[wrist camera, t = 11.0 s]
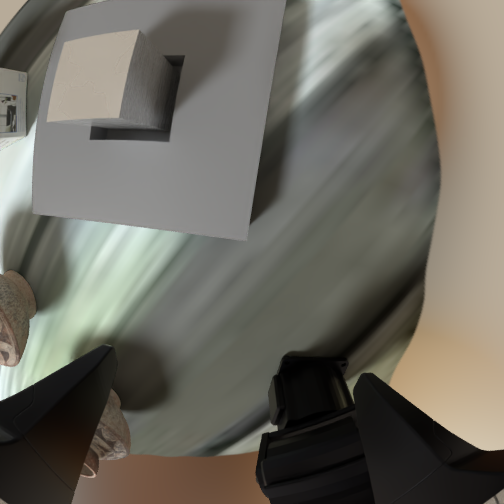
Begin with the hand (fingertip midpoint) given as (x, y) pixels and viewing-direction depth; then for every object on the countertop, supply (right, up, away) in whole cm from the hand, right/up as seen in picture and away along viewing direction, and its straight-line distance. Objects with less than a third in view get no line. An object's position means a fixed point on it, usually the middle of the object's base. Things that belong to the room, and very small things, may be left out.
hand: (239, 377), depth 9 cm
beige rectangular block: (-7, +14, +7) cm, 17 cm away
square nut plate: (-7, +14, +7) cm, 18 cm away
